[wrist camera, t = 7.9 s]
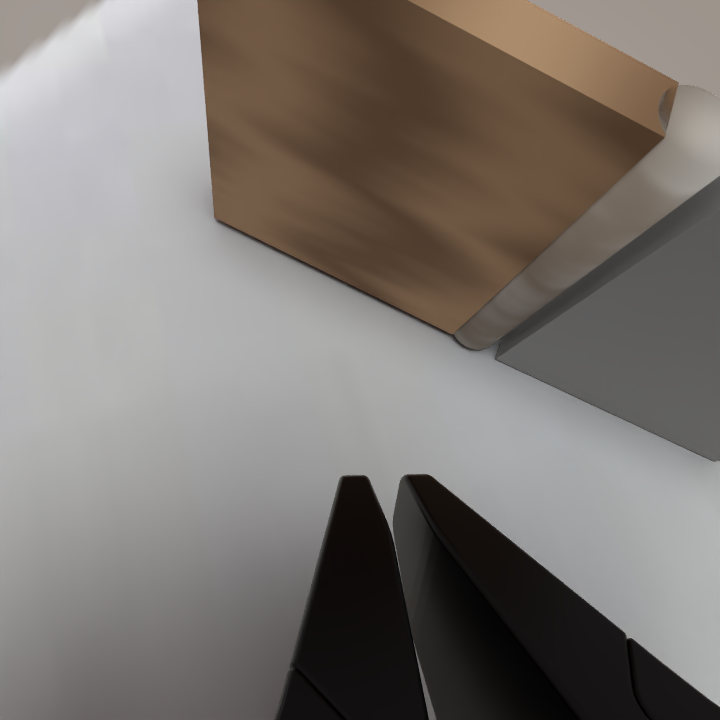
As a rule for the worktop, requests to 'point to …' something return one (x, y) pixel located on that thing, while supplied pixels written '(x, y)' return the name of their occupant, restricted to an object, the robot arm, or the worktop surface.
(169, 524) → the worktop surface
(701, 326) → the grey rectangular prism
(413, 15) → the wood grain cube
